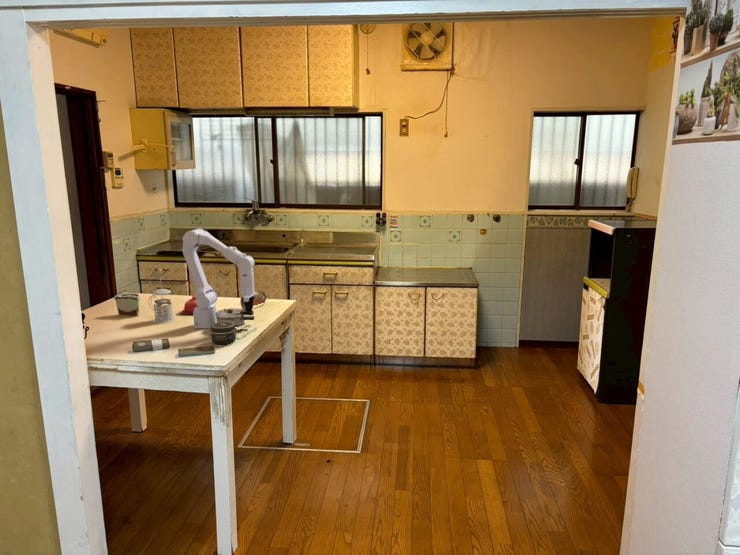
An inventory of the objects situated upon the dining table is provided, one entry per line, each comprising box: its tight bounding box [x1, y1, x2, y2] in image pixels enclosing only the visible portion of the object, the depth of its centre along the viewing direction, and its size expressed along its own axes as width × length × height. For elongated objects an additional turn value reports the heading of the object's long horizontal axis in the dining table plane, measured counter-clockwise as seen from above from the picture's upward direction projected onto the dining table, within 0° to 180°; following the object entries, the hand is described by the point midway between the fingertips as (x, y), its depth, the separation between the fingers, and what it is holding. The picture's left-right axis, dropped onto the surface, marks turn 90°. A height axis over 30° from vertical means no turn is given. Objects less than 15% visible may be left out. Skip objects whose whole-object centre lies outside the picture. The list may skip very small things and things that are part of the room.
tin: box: [240, 290, 267, 310], centre depth 261 cm, size 15×3×8 cm, turn 143°
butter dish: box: [180, 295, 198, 315], centre depth 253 cm, size 12×12×8 cm
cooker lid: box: [215, 307, 255, 319], centre depth 227 cm, size 17×13×2 cm
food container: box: [113, 292, 141, 317], centre depth 248 cm, size 12×6×10 cm, turn 84°
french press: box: [148, 268, 176, 325], centre depth 237 cm, size 10×12×25 cm
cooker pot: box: [216, 315, 255, 327], centre depth 229 cm, size 16×12×6 cm
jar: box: [210, 321, 237, 347], centre depth 211 cm, size 10×10×8 cm
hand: (249, 312), depth 229 cm, fingers closed, pressing on cooker lid
